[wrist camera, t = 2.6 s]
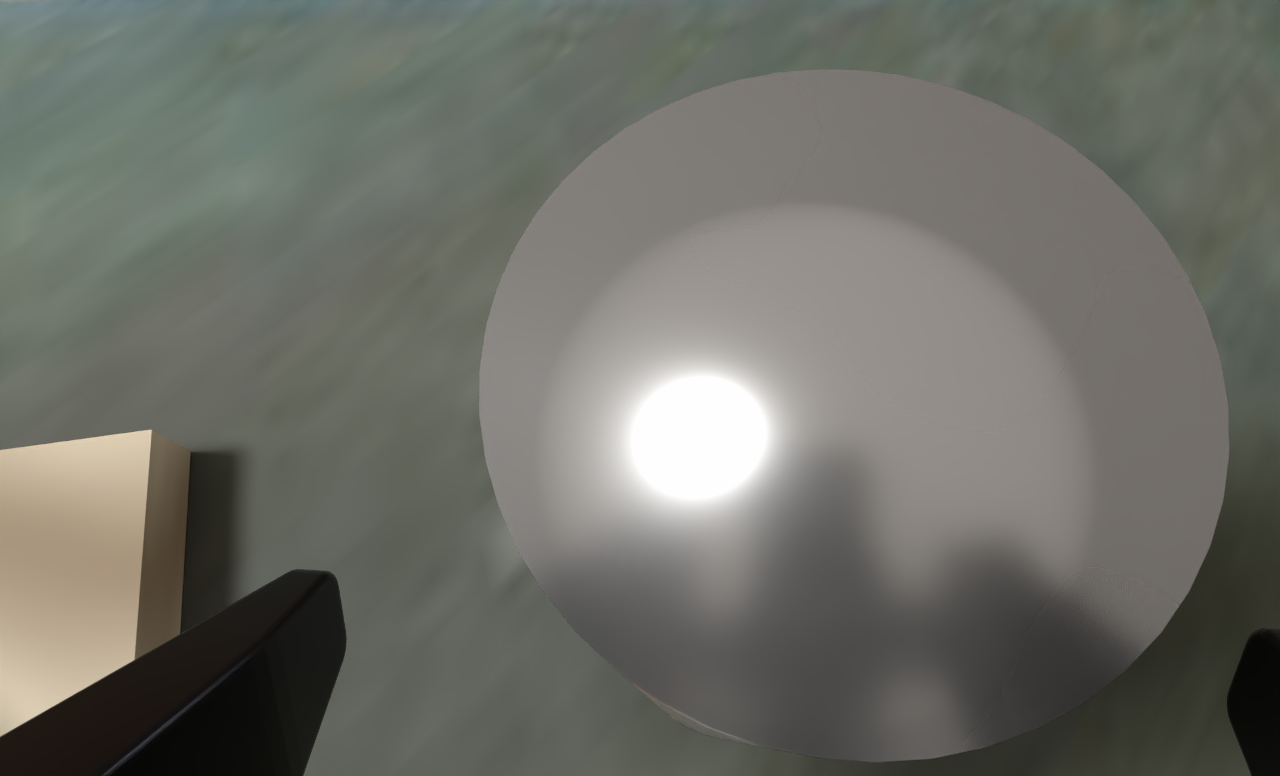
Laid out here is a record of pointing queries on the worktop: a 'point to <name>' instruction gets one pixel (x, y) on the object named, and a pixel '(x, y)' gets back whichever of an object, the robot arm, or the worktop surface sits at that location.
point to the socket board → (86, 562)
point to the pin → (853, 416)
